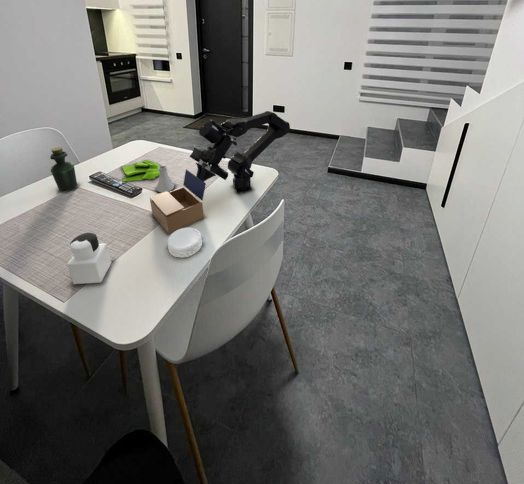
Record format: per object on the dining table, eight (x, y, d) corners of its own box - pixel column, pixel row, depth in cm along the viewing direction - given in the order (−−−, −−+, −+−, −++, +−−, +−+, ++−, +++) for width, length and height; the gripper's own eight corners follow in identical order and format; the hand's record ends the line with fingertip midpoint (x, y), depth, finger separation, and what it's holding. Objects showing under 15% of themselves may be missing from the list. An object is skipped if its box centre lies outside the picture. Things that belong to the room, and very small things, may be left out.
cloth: (157, 181, 125) (156, 176, 124) (107, 181, 125) (106, 176, 124) (171, 161, 144) (171, 156, 143) (128, 161, 144) (127, 156, 143)
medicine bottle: (86, 264, 82) (75, 230, 77) (112, 262, 82) (103, 228, 78) (73, 285, 75) (60, 249, 70) (101, 283, 76) (90, 247, 71)
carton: (185, 200, 111) (183, 184, 108) (203, 217, 101) (202, 200, 98) (152, 214, 103) (149, 197, 100) (168, 234, 93) (165, 215, 91)
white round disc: (185, 263, 82) (183, 254, 80) (161, 250, 87) (160, 241, 85) (208, 242, 89) (207, 233, 88) (186, 231, 94) (184, 222, 93)
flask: (169, 193, 116) (165, 172, 112) (153, 192, 117) (149, 170, 113) (177, 184, 122) (174, 164, 119) (162, 183, 124) (158, 162, 120)
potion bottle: (83, 182, 124) (73, 144, 117) (72, 192, 117) (60, 152, 110) (64, 183, 124) (53, 144, 117) (52, 193, 116) (39, 153, 110)
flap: (183, 185, 108) (184, 184, 108) (201, 200, 98) (202, 200, 99) (185, 169, 107) (186, 169, 107) (204, 183, 97) (205, 183, 97)
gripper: (191, 131, 107) (167, 166, 104) (219, 146, 94) (191, 186, 91) (211, 145, 115) (189, 178, 112) (239, 161, 101) (214, 198, 99)
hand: (195, 185), depth 103 cm, fingers closed, pressing on flap
